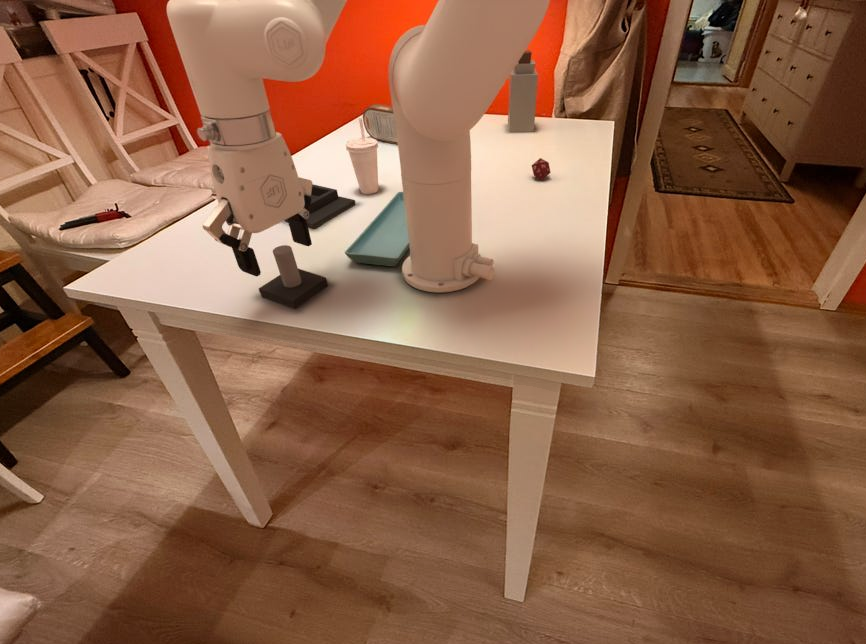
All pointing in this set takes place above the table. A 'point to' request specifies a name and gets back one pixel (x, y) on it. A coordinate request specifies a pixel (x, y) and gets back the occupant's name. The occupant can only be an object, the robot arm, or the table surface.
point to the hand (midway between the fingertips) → (278, 257)
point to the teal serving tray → (383, 237)
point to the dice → (541, 169)
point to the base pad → (325, 205)
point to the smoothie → (364, 161)
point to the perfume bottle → (522, 95)
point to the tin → (380, 123)
